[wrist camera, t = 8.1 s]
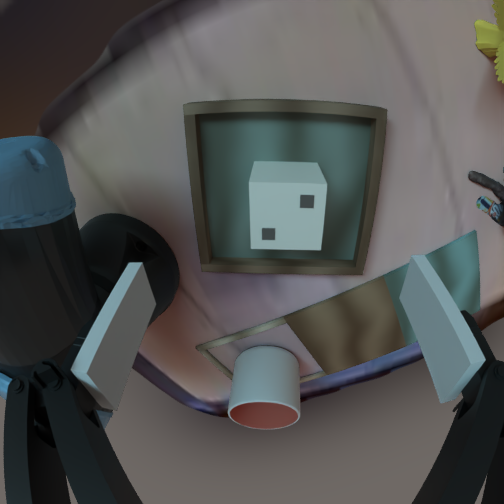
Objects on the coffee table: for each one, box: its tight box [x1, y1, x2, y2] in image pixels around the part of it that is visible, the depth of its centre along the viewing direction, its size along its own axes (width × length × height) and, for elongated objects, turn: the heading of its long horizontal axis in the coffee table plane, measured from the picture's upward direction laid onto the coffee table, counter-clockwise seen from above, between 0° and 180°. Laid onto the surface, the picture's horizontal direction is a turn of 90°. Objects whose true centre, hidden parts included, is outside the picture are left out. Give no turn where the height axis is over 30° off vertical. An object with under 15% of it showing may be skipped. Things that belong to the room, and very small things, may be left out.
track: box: [196, 230, 480, 383], centre depth 40 cm, size 43×16×1 cm, turn 121°
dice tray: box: [183, 99, 387, 275], centre depth 28 cm, size 18×18×2 cm
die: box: [249, 161, 327, 250], centre depth 26 cm, size 6×6×6 cm
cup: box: [228, 346, 300, 429], centre depth 40 cm, size 10×10×10 cm
